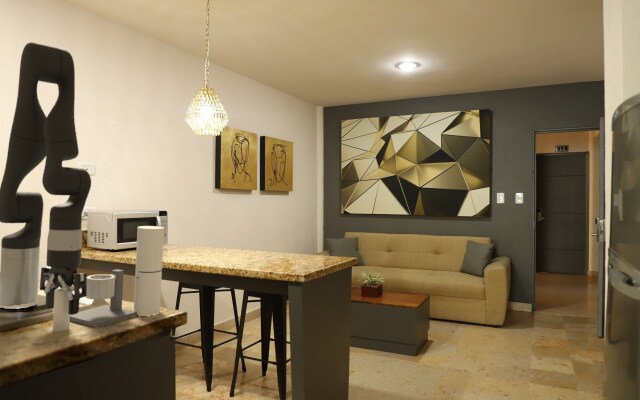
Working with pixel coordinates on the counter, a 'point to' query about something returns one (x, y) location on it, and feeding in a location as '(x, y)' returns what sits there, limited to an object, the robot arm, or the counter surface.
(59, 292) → the dowel
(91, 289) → the cup bracket
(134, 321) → the counter surface
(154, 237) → the cylindrical container
